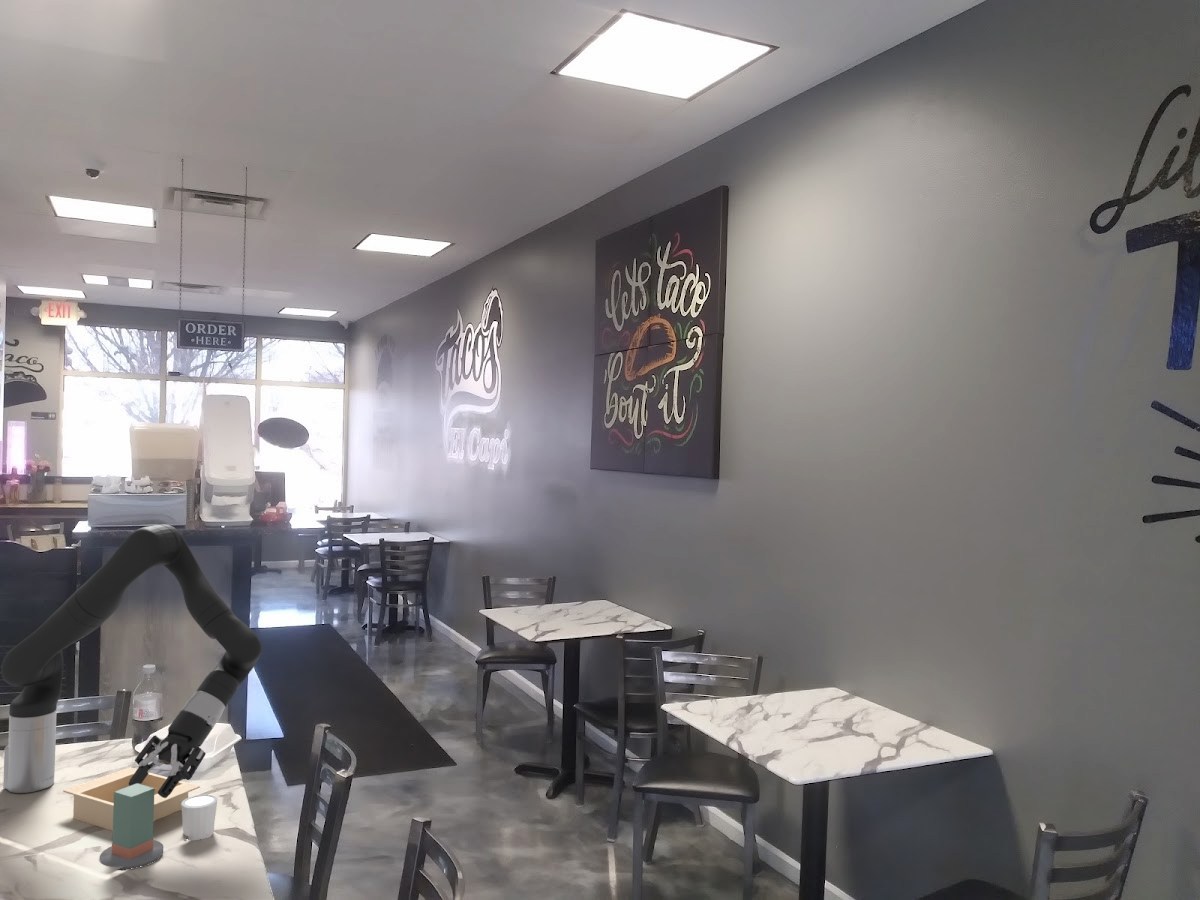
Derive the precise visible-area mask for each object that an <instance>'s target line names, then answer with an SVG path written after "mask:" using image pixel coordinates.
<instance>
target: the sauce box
mask: <svg viewBox="0 0 1200 900" xmlns="http://www.w3.org/2000/svg"><path fill="white" fill-rule="evenodd" d="M154 791H155V788H152V787H149V786H145V785H142V784H138V783H137V784H134V785H131V786H129V787H126V788H123V789H120V790H118V791H115V792H114V808H113V831H112V843H111V846H112V854H114V855H117V856H120V857H123V858H126V859H129V860H130V859H132V858H134V857H136V856H139V855H141V854H143V853H145V852H147V851H150V850H152V849H153V840H154V822H155V821H154Z"/></svg>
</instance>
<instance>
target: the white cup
mask: <svg viewBox="0 0 1200 900" xmlns="http://www.w3.org/2000/svg"><path fill="white" fill-rule="evenodd" d="M217 807H218V797H217V796H216V795H214V794H213V795H212V794H198V795H193V796H190V797H189V796H188V798H187V799H185V800H184V801H182V803H181V808H182V810H181V819H182V821H181V822H182V833H183V835H184V836H186V837H185V838H186V839H185V840H187V839H188V840H187V841H200V839H201V840H205V839H207V838H209V837H211V836H212V835H213V833H214V829H215V823H216V822H215V821H216V815H217V814H216V813H217Z"/></svg>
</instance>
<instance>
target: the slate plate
mask: <svg viewBox="0 0 1200 900" xmlns="http://www.w3.org/2000/svg"><path fill="white" fill-rule="evenodd" d="M162 854H164V844H163V843H162V842H161V841H159V840H155V839H153V849H152V850H150V851H147V852H145V853H143V854H141V855H139V856H136V857H134V858H132V859H130V860H129V859H126V858H123V857H120V856H117V855H114V854H112V845H111V846H109V847H107V848H106V849H104V850H103V851H102V852H101V853H100V854H99V861H100V863H101V864H103V865H105V866H109V867H119V868H118V869H117V870H121V871H127V870H126V869H131V868H136V867H140V866H143V867H145V866H144V865H146V866H148V864H149V865H151V864H153V863H155V862H156V861H158V860H159V859H161V857H162V856H163V855H162ZM158 858H159V859H158ZM157 859H158V860H157ZM154 861H155V862H154ZM152 862H153V863H152ZM150 863H151V864H150ZM140 868H141V867H140ZM136 869H137V868H136ZM131 870H132V869H131Z"/></svg>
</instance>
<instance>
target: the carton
mask: <svg viewBox="0 0 1200 900" xmlns="http://www.w3.org/2000/svg"><path fill="white" fill-rule="evenodd" d="M137 769H138V768H135V767H130V766H129V767H126V768H124V769H121V770H118V771H115V772H112V773H108V774H106V775H103V776H100V777H97V778H96V779H92V780H89V781H86V782H84V783H81V784H78V785H77V784H76V785H75V786H72V787H69V788H66V789H63V791H62V792H63V793H66V794H68V795H73V810H72V811H73V812H72V813H73V814H72V815H73V816H72V819H73V820H74V819H75V820H77V821H80V822H83V823H86V824H90V825H93V826H96V827H99V828H102V829H104V830H109V831H111V832H113V808H114V792H115V791H118V790H120V789H123V788H126V787H129V781H130V779H131V778H132V776H133V775H134V773H135V772H136V771H137ZM167 778H168V776H164V775H160V774H156V773H153V772H150V771H149V772H148V775H147V776H146V778H145V779H144V780H143V782H142V783H141V784H142V785H145V786H149V787H152V788H155V791H154V822H156V821H158V820H160V819H162V818H165V817H168V816H170V815H172V814H175V813H176V812H179V811H182V808H181V803H182V801H184V800H185V799H187V798H189V793H190V792H192V791H195V790H197V789H199V788H201V786H200V785H197V784H193V783H190V782H187V781H183V780H181V781H179V782H178V784H177V785H176V787H175V788H174V789H173V791H172V792H171V794H170V795H169V796H168V797H167V798H163V797H161V796H160V795H159V794H158V791H159V789H160V788H161V786H162V785H163V783H164V782H165V781H166V779H167Z"/></svg>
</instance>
